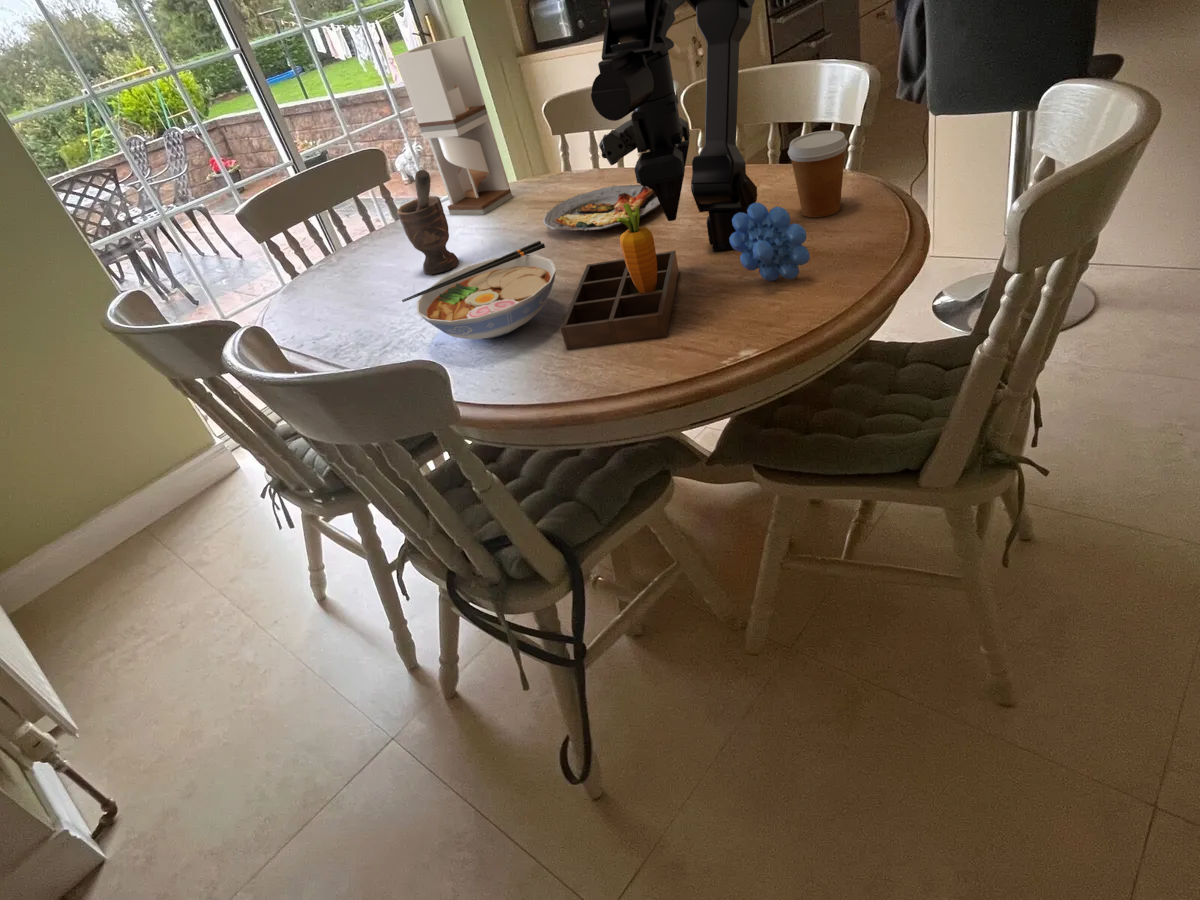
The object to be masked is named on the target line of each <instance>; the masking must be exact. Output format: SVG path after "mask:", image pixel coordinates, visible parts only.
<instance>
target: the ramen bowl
mask: <svg viewBox="0 0 1200 900" xmlns="http://www.w3.org/2000/svg"><path fill="white" fill-rule="evenodd" d="M545 245H546V244H545V243H542V241H541V240H537V241H535V242H533V243H531V244H529V245H526V246H524V247H521V248H519V249H518V250H515V251H511V252H510V253H508V254H505V255H503V256H501V257H494V258H491V259H487V260H483V261H480V262H477V263H473V264H470V265H468V266H465V267H463V268H461V269H458V270H456V271H455V272H452V273H450V274H448V275H446V276H444V277H443V278H440V280H438V281H436V282H435V283H434V284H432V285H431V286H429V287H427V289H424V290H421V291H420V292H417V293H414V294H413V295H411V296H408V297H406V298H403V299H401V302H402V303H404V302H407V301H410V300H412V299H414V298H418V297H419V299H418V300H417V301H416V313H417V314H418V315H419V316H420V317H421V318H422V319H423V320H424V321H426V322H427V323H429V324H430V325H431V326H433V327H435V328H436V329H438V330H439V331H441V332H443V333H444V334H446V335H448V336H451V337H454V338H459V339H467V340H468V339H469V340H480V339H493V338H494V339H495V338H500V337H502V336H505V335H508V334H510V333H512V332H514V331H515V330H516V329H518V328H519V327H521V326H523V325H525V324H527V323H528V322H529V321H530V320H531V319H533V318H534V317H535V316H537V315H538V314H539V312H540V311H541V310H542V309H543V307H544V306H545V303H546V301H547V300H548V298H549V296H550V293H551V291H552V288H553V285H554V282H555V279H556V274H557V268H556V266H555V264H554V262H553V260H552V259H549V258H547V257H544V256H541V255H539V254H533V253H535V252H538V251H541V250H543V249H546V246H545Z"/></svg>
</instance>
